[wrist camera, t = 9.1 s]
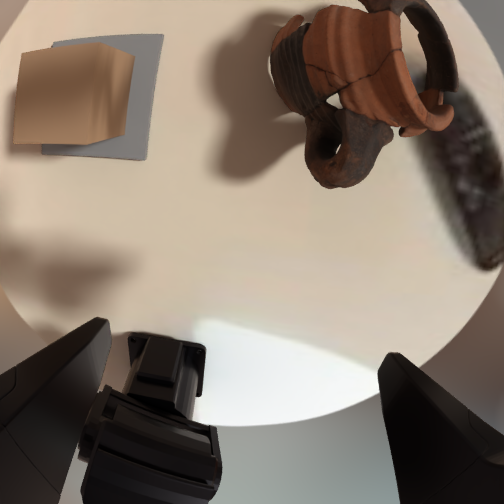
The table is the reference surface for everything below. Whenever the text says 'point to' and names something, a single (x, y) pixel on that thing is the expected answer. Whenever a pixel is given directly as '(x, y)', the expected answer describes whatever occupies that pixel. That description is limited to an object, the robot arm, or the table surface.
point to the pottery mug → (361, 83)
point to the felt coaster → (138, 105)
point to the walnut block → (72, 94)
